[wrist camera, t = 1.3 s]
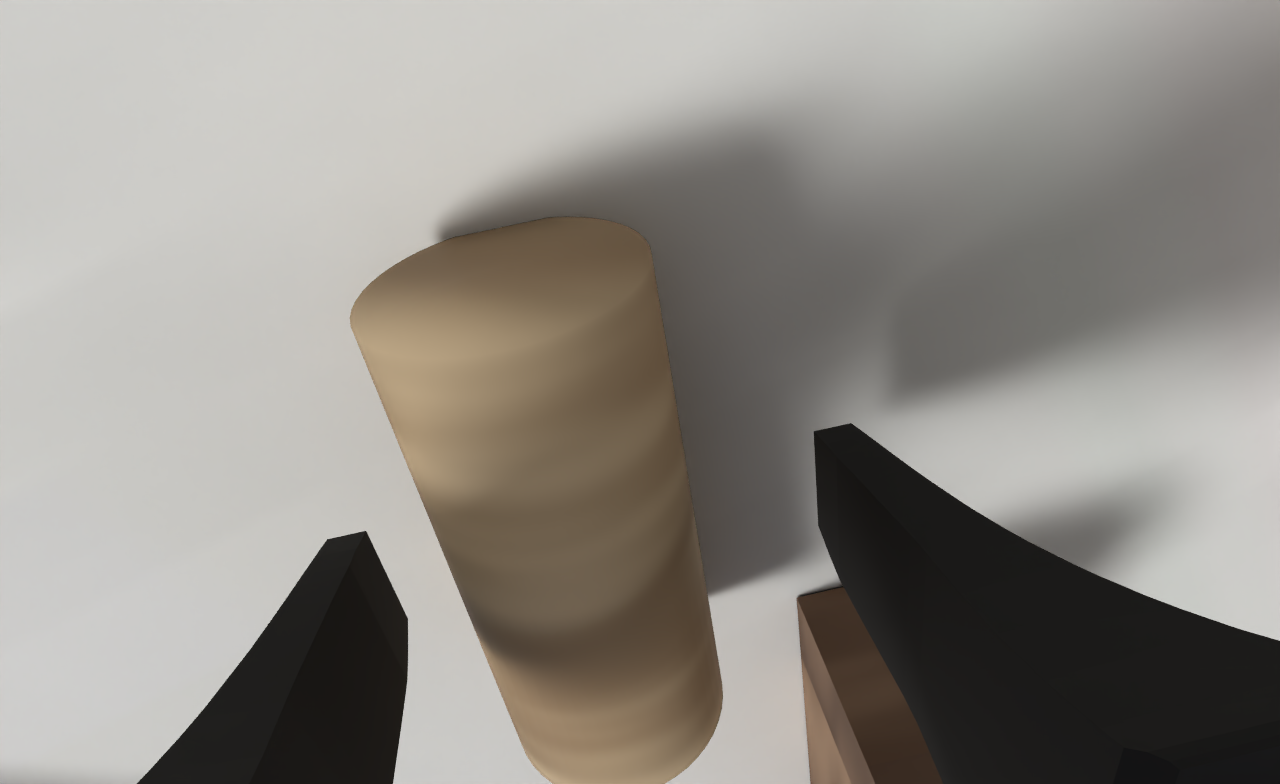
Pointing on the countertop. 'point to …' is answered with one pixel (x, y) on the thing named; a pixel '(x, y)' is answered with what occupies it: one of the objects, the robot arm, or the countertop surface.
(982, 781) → the robot arm
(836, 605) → the stop rail
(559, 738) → the roller
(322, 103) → the countertop surface
